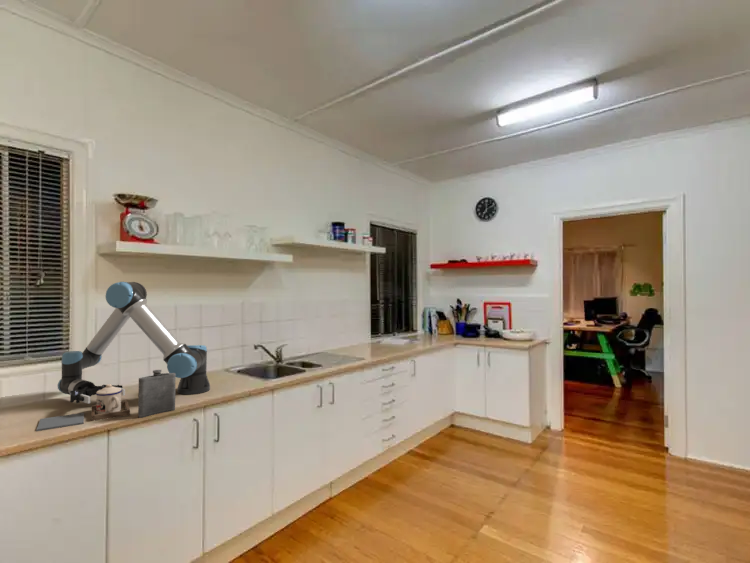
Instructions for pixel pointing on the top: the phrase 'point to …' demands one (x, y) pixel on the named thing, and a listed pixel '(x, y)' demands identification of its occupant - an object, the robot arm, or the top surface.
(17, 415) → the top surface
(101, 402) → the teacup with lid
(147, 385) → the flask
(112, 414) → the brown wooden tray
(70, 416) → the slate mat
